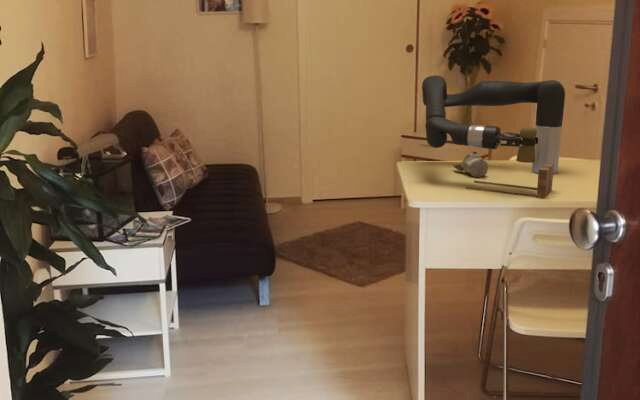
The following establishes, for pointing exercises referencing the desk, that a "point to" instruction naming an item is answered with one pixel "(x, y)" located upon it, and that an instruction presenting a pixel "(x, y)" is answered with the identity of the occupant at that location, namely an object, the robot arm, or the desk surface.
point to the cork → (527, 152)
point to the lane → (542, 188)
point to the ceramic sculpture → (473, 165)
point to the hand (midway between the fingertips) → (536, 141)
